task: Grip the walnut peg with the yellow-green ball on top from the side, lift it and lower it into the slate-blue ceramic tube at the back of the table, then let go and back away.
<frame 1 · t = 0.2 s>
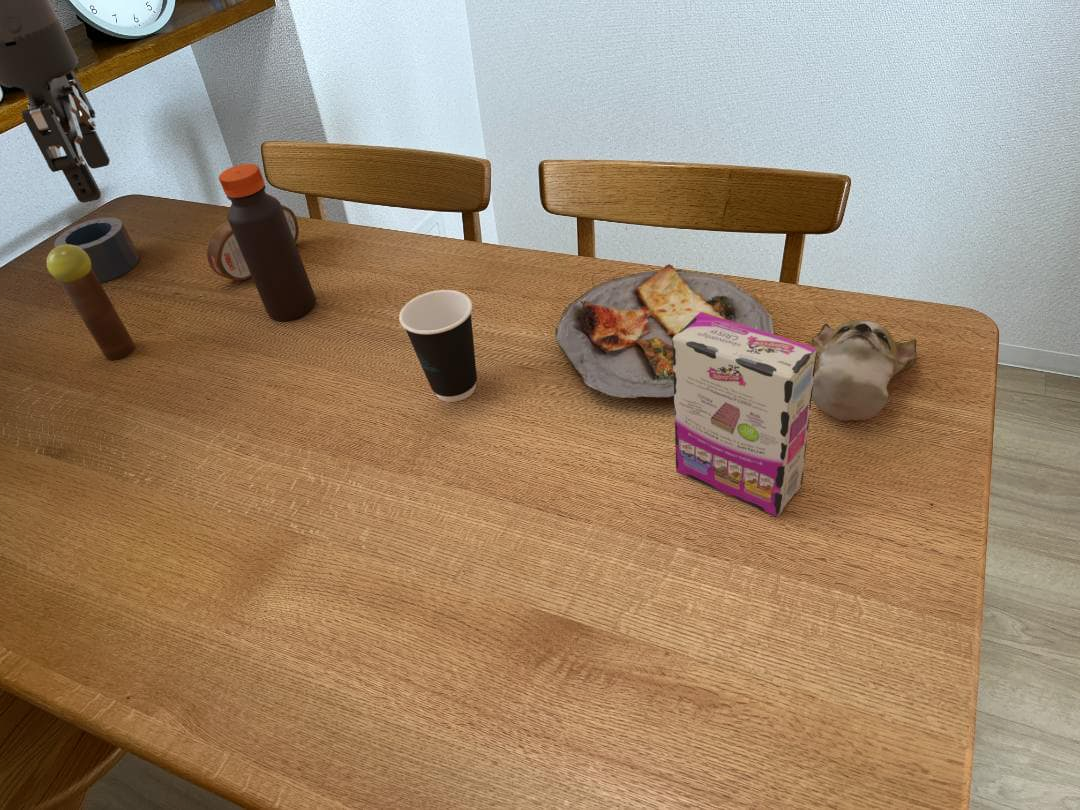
hand: (96, 182, 87), 26 cm above the table, tool pointing down, fingers open, 8 cm apart
ball peg: (120, 351, 109), on the table
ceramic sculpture: (852, 390, 85), on the table
bottle: (293, 309, 111), on the table
tube: (107, 267, 128), on the table
candy bar box: (737, 479, 77), on the table
tin: (265, 266, 122), on the table
food plate: (661, 342, 95), on the table
dixie cup: (455, 389, 93), on the table
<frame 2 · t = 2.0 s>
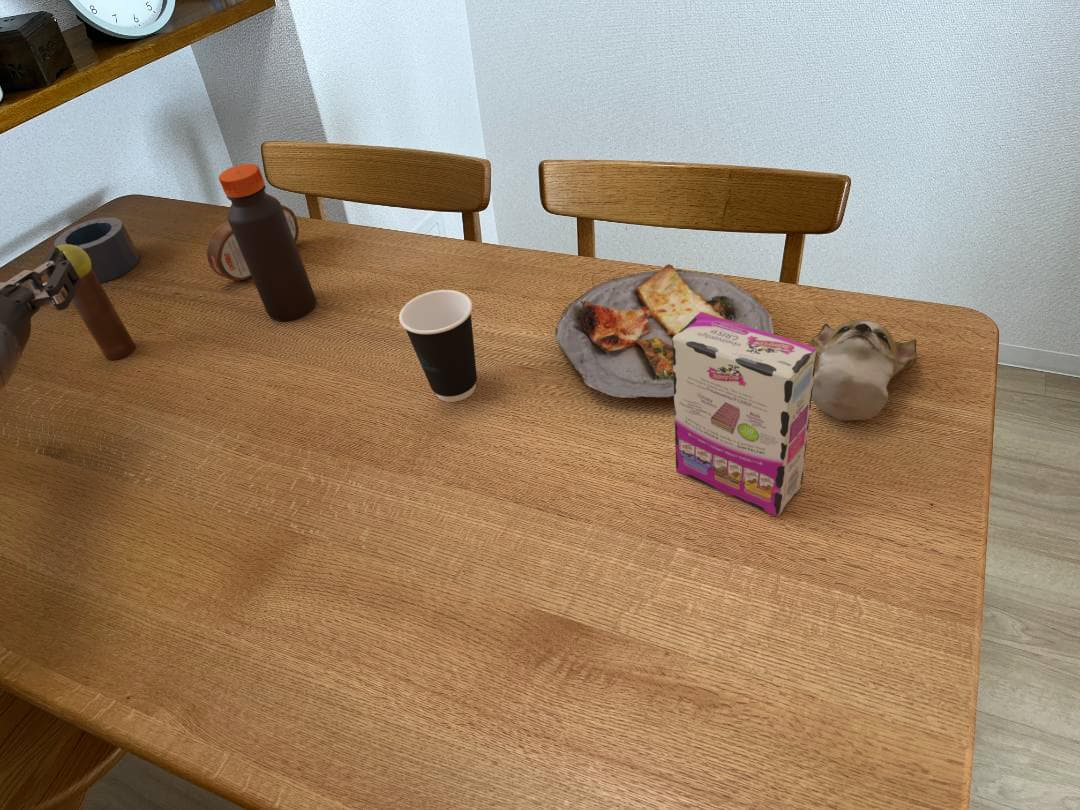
hand: (18, 264, 87), 20 cm above the table, tool horizontal, fingers open, 8 cm apart
nothing on the table moved.
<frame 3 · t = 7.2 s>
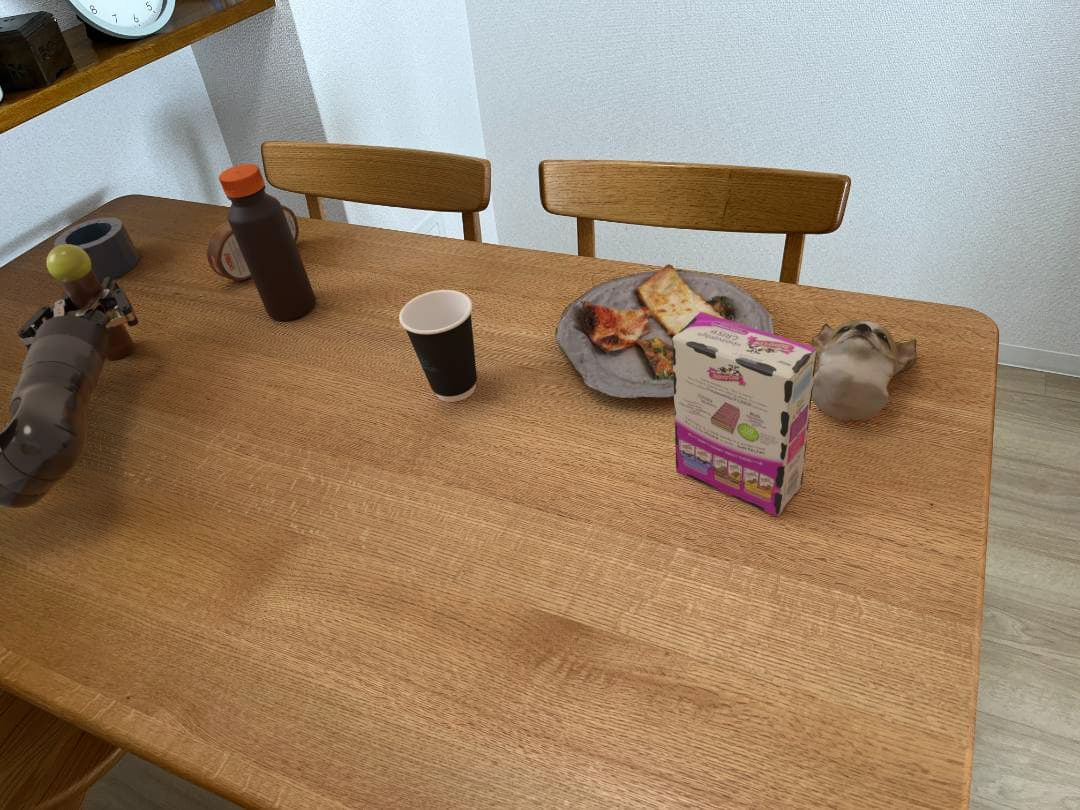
hand: (93, 287, 105), 8 cm above the table, tool horizontal, fingers closed on ball peg, 4 cm apart
ball peg: (120, 351, 109), on the table, touching gripper
everything else where it was.
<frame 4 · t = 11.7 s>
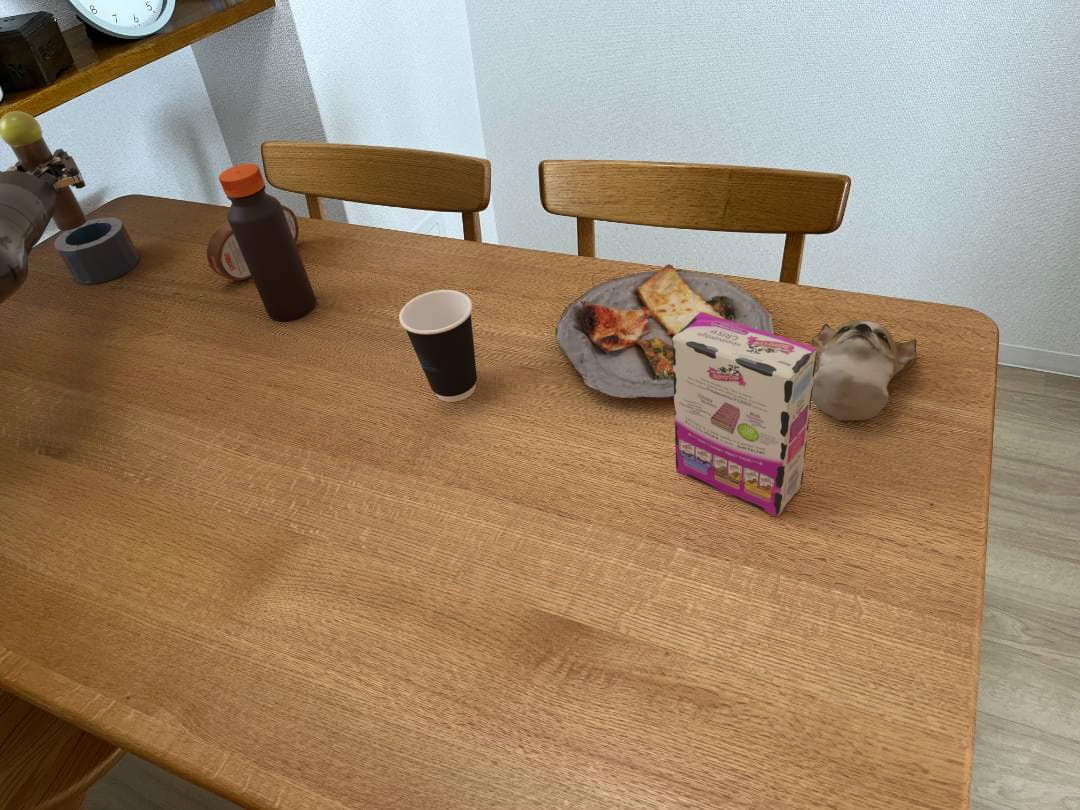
hand: (45, 159, 111), 20 cm above the table, tool horizontal, fingers closed on ball peg, 4 cm apart
ball peg: (72, 223, 114), point 11 cm above the table, touching gripper
everything else where it was.
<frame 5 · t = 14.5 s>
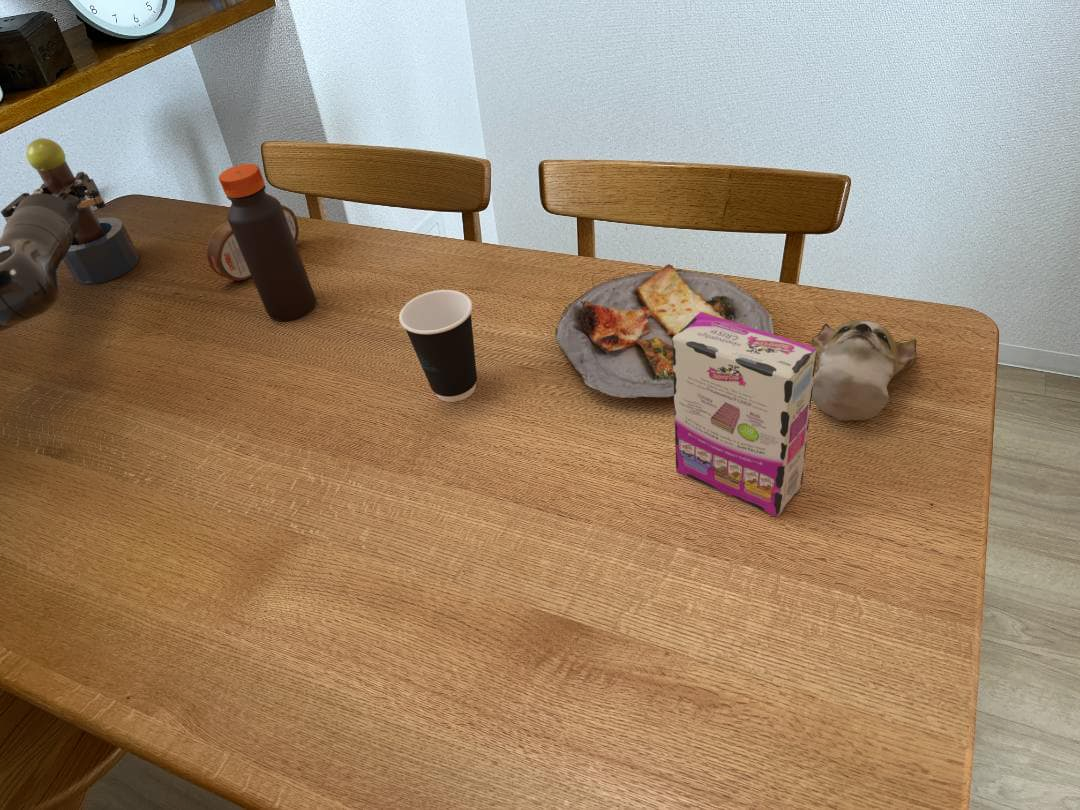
hand: (68, 181, 121), 13 cm above the table, tool horizontal, fingers closed on ball peg, 4 cm apart
ball peg: (92, 239, 124), point 5 cm above the table, touching gripper
everything else where it was.
when the fingers open (9 cm above the table, at t = 16.4 s): ball peg stays where it is, resting on tube.
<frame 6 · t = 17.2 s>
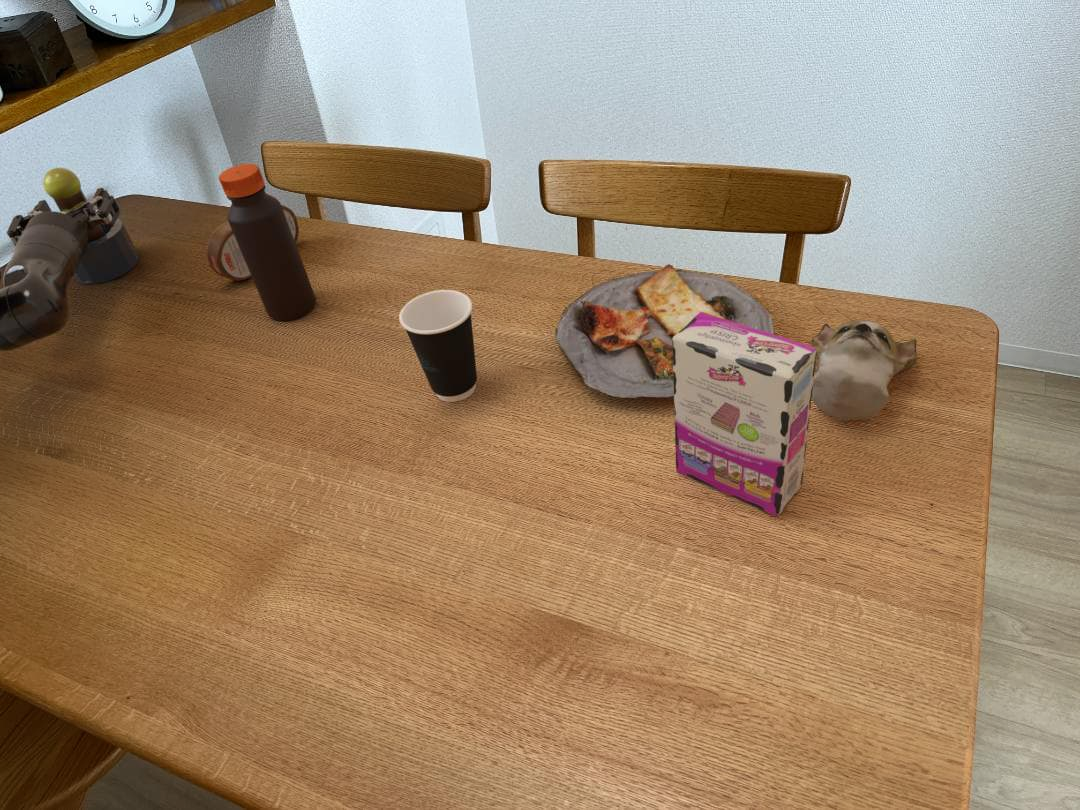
hand: (74, 199, 122), 11 cm above the table, tool horizontal, fingers open, 8 cm apart
ball peg: (106, 264, 127), resting on tube
everything else where it was.
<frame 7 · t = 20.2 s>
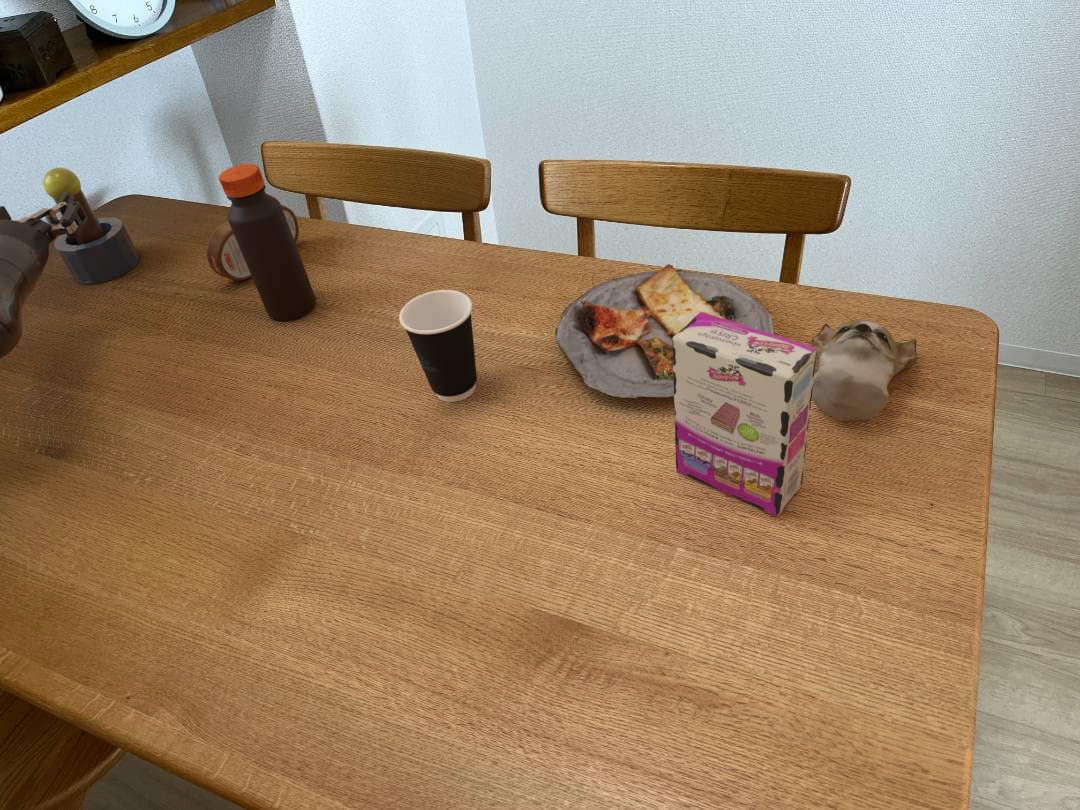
hand: (37, 205, 109), 16 cm above the table, tool horizontal, fingers open, 8 cm apart
nothing on the table moved.
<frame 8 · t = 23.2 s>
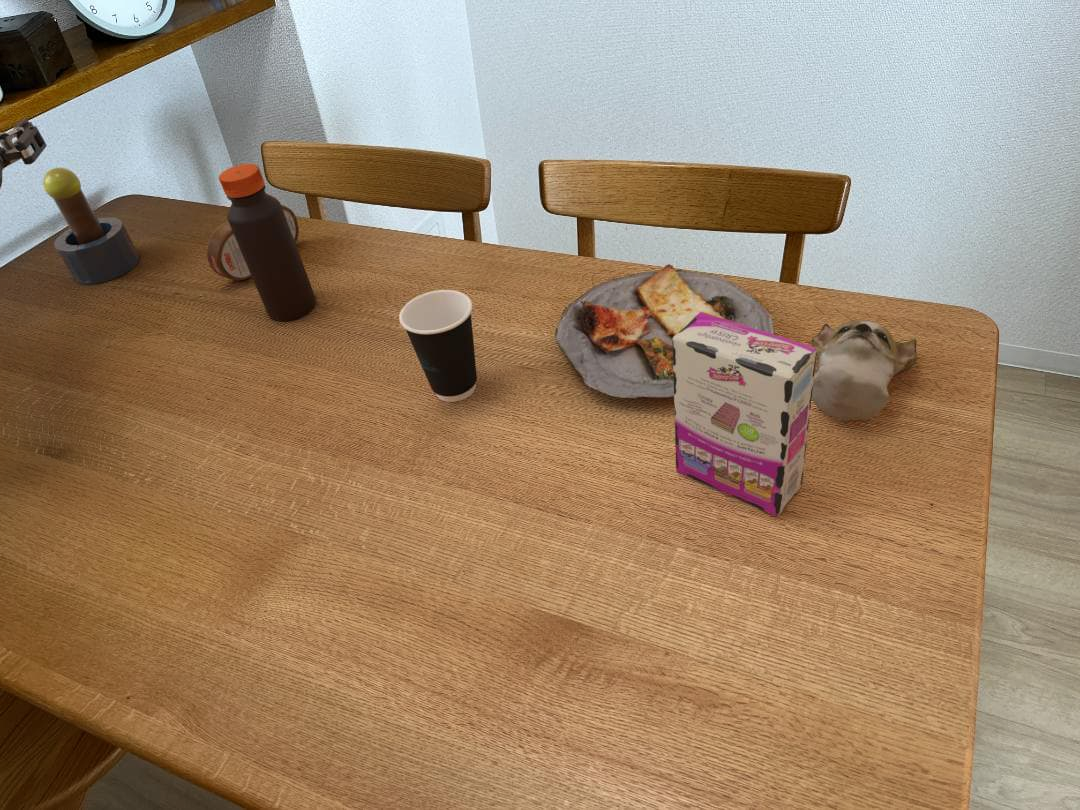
nothing on the table moved.
at the end: ball peg 0.1 cm off-centre in the tube, point 0.5 cm above the tube's base; ball peg tilted 0°; the gripper is holding nothing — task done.
